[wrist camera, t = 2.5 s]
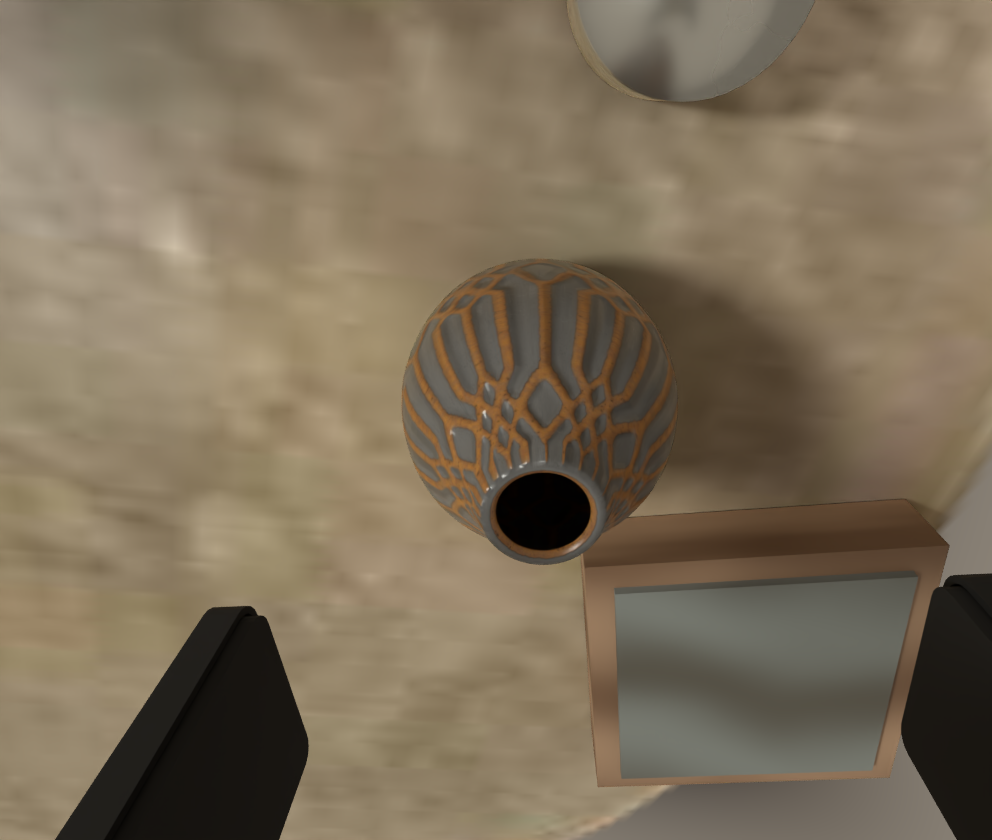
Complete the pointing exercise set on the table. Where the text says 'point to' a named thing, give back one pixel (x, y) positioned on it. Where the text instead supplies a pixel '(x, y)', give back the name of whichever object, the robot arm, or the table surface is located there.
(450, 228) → the table surface
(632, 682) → the plinth
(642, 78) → the tin
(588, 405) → the vase
